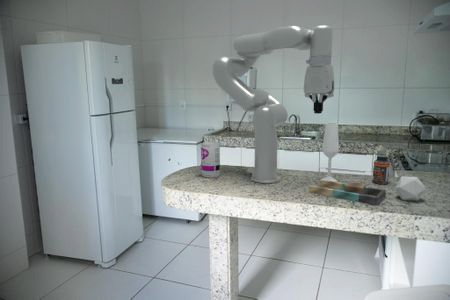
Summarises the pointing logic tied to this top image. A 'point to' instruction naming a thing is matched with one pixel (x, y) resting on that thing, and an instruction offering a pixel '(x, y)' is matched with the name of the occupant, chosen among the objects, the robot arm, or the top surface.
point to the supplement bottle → (381, 170)
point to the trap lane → (351, 196)
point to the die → (410, 188)
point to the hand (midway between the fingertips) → (317, 113)
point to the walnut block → (355, 188)
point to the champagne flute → (330, 146)
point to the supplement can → (210, 159)
